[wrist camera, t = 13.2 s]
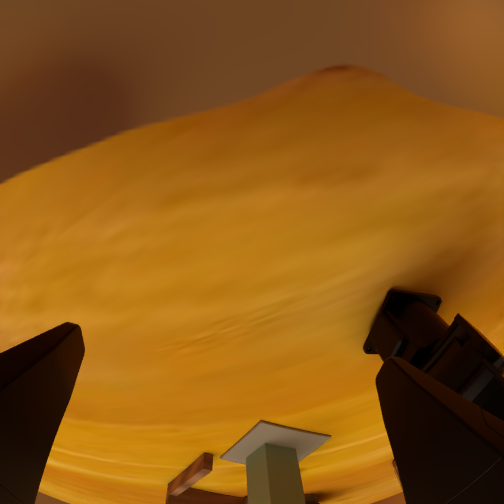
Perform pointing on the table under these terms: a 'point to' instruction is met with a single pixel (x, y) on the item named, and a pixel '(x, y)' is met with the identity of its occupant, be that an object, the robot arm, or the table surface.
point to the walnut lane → (193, 500)
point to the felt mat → (274, 441)
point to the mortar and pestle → (311, 499)
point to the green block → (274, 476)
